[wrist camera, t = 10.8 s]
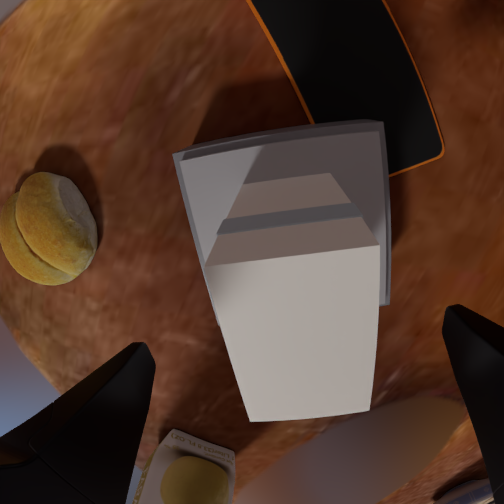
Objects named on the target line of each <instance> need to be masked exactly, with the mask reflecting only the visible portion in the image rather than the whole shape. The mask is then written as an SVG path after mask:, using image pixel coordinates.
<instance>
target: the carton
mask: <svg viewBox="0 0 504 504" xmlns="http://www.w3.org/2000/svg"><path fill="white" fill-rule="evenodd" d="M216 235H217V239H216V241H215V243H214V245H213V248H212V250H211V252H210V254H209V256H208V258H207V261H206V263H205V265H204V270H205V273H206V277H207V281H208V284H209V288H210V292H211V295H212V299H213V302H214V306H215V310H216V313H217V316H218V320H219V323H220V327H221V330H222V334H223V337H224V340H225V344H226V347H227V350H228V354H229V357H230V360H231V364H232V367H233V370H234V373H235V376H236V380H237V383H238V386H239V389H240V392H241V395H242V398H243V402H244V405H245V408H246V411H247V414H248V417H249V420H250V422H263V421H282V420H296V419H307V418H318V417H327V416H335V415H343V414H350V413H357V412H363V411H369V408H370V401H371V393H372V385H373V376H374V367H375V356H376V345H377V331H378V314H379V290H380V244H379V243H378V241H377V240H376V238H375V237H374V235H373V234H372V232H371V231H370V229H369V228H368V226H367V225H366V223H365V222H364V220H363V214H362V213H361V212H360V210H359V209H358V207H357V206H356V205H355V203H354V202H352V203H351V201H350V200H349V198H348V197H347V196H346V194H345V193H344V191H343V190H342V189H341V187H340V186H339V184H338V183H337V182H336V180H335V179H334V178H333V176H332V175H331V174H330V173H323V174H315V175H307V176H299V177H291V178H284V179H277V180H270V181H263V182H256V183H249V184H243V185H242V187H241V189H240V191H239V193H238V195H237V197H236V199H235V201H234V203H233V205H232V207H231V210H230V212H229V214H228V216H227V218H226V219H223V221H222V223H221V225H220V227H219V229H218V231H217V233H216Z"/></svg>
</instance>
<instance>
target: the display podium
mask: <svg viewBox="0 0 504 504" xmlns="http://www.w3.org/2000/svg"><path fill="white" fill-rule="evenodd" d="M172 155H173V159H174V163H175V167H176V171H177V176H178V180H179V184H180V188H181V192H182V196H183V200H184V204H185V208H186V211H187V215H188V219H189V223H190V227H191V231H192V234H193V238H194V242H195V245H196V249H197V253H198V256H199V260H200V264H201V267H202V271H203V274H204V278H205V281H206V285H207V288H208V292H209V295H210V298H211V302H212V305H213V309H214V312H215V315H216V318H217V322H218V325H220V323H219V320H218V316H217V313H216V310H215V306H214V302H213V299H212V295H211V292H210V288H209V284H208V281H207V277H206V273H205V270H204V265H205V263H206V261H207V258H208V256H209V254H210V252H211V250H212V248H213V245H214V243H215V241H216V239H217V235H216V233H217V231H218V229H219V227H220V225H221V223H222V221H223V219H226V218H227V216H228V214H229V212H230V210H231V207H232V205H233V203H234V201H235V199H236V197H237V195H238V193H239V191H240V189H241V187H242V185H243V184H249V183H256V182H263V181H270V180H277V179H284V178H291V177H299V176H307V175H315V174H323V173H330V174H331V175H332V176H333V178H334V179H335V180H336V182H337V183H338V184H339V186H340V187H341V189H342V190H343V191H344V193H345V194H346V196H347V197H348V198H349V200H350V201H351V203H352V202H354V203H355V205H356V206H357V207H358V209H359V210H360V212H361V213H362V214H363V220H364V222H365V223H366V225H367V226H368V228H369V229H370V231H371V232H372V234H373V235H374V237H375V238H376V240H377V241H378V243H379V244H380V290H379V306H384V305H390V283H391V213H390V191H389V175H388V162H387V151H386V141H385V132H384V123H383V122H381V121H375V120H369V119H360V120H348V121H338V122H328V123H319V124H309V125H301V126H293V127H286V128H280V129H273V130H267V131H261V132H255V133H249V134H244V135H238V136H233V137H228V138H223V139H218V140H213V141H208V142H203V143H199V144H194V145H191V146H189V147H186V148H184V149H182V150H180V151H178V152H175V153H173V154H172Z"/></svg>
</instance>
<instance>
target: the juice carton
mask: <svg viewBox="0 0 504 504" xmlns="http://www.w3.org/2000/svg"><path fill="white" fill-rule="evenodd" d="M234 483H235V455H234V451H232V450H229V449H227V448H224V447H221V446H218V445H215V444H212V443H209V442H206V441H204V440H201V439H199V438H196V437H194V436H191V435H189V434H187V433H184V432H182V431H179V430H176V429H172V430H171V431H170V432H169V434H168V435H167V436H166V437H165V438H164V439H163V441H162V442H161V443H160V444H159V445H158V447H157V448H156V449H155V450H154V452H153V453H152V454H151V456H150V457H149V459H148V460H147V462H146V464H145V467H144V469H143V472H142V475H141V478H140V481H139V484H138V487H137V490H136V494H135V496H134V500H133V503H132V504H232V498H233V491H234Z"/></svg>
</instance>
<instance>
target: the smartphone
mask: <svg viewBox="0 0 504 504" xmlns="http://www.w3.org/2000/svg"><path fill="white" fill-rule="evenodd" d="M246 2H247V3H248V5H249V7H250V8H251V10H252V12H253V13H254V15H255V17H256V19H257V20H258V22H259V24H260V26H261V27H262V29H263V31H264V33H265V34H266V36H267V38H268V40H269V42H270V44H271V45H272V47H273V49H274V51H275V53H276V55H277V57H278V58H279V60H280V62H281V64H282V66H283V68H284V70H285V72H286V74H287V76H288V78H289V80H290V82H291V84H292V86H293V88H294V90H295V92H296V94H297V96H298V98H299V100H300V102H301V104H302V107H303V109H304V111H305V113H306V115H307V117H308V119H309V122H310V124H319V123H328V122H338V121H348V120H360V119H369V120H375V121H381V122H383V123H384V132H385V141H386V151H387V162H388V175H389V177H392V176H395V175H397V174H400V173H402V172H405V171H407V170H410V169H413V168H415V167H418V166H420V165H423V164H426V163H428V162H431V161H433V160H436V159H439V158H440V157H442V156H443V154H444V151H445V147H444V143H443V139H442V136H441V133H440V129H439V126H438V123H437V120H436V117H435V114H434V111H433V108H432V105H431V102H430V99H429V97H428V94H427V91H426V89H425V86H424V83H423V81H422V78H421V76H420V73H419V71H418V69H417V66H416V64H415V62H414V59H413V57H412V55H411V52H410V50H409V48H408V46H407V44H406V42H405V39H404V37H403V35H402V33H401V31H400V29H399V27H398V25H397V23H396V21H395V19H394V17H393V16H392V14H391V12H390V11H391V10H390V8H389V6H388V5H387V3H386V1H385V0H246Z"/></svg>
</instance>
